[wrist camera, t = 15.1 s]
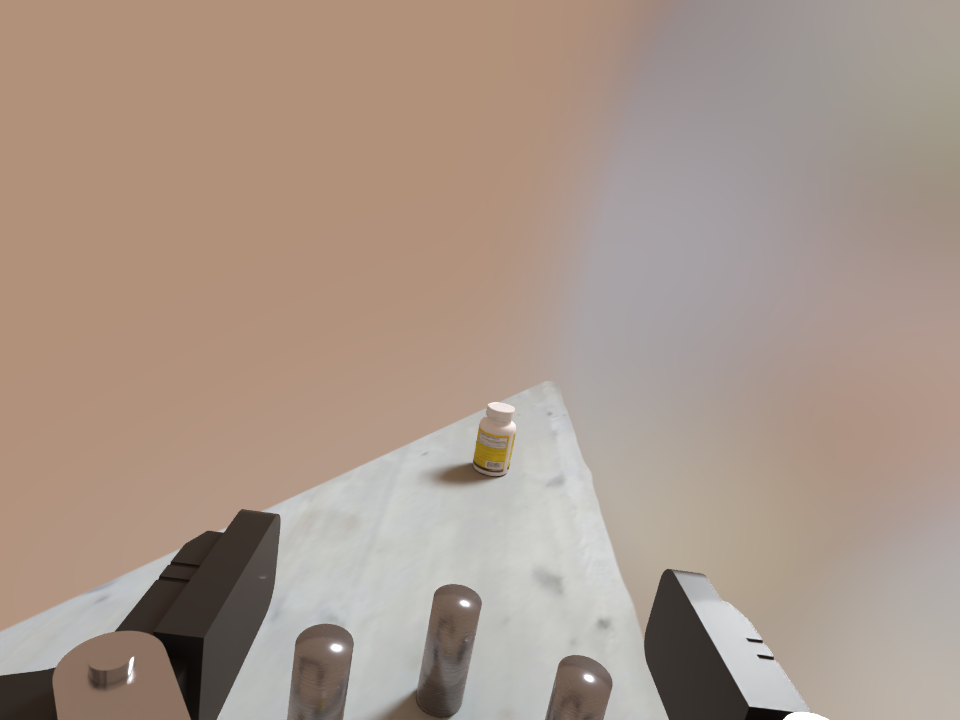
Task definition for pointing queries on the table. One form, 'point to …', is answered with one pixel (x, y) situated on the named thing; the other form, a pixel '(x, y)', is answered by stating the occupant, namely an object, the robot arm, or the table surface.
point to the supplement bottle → (495, 440)
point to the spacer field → (433, 667)
